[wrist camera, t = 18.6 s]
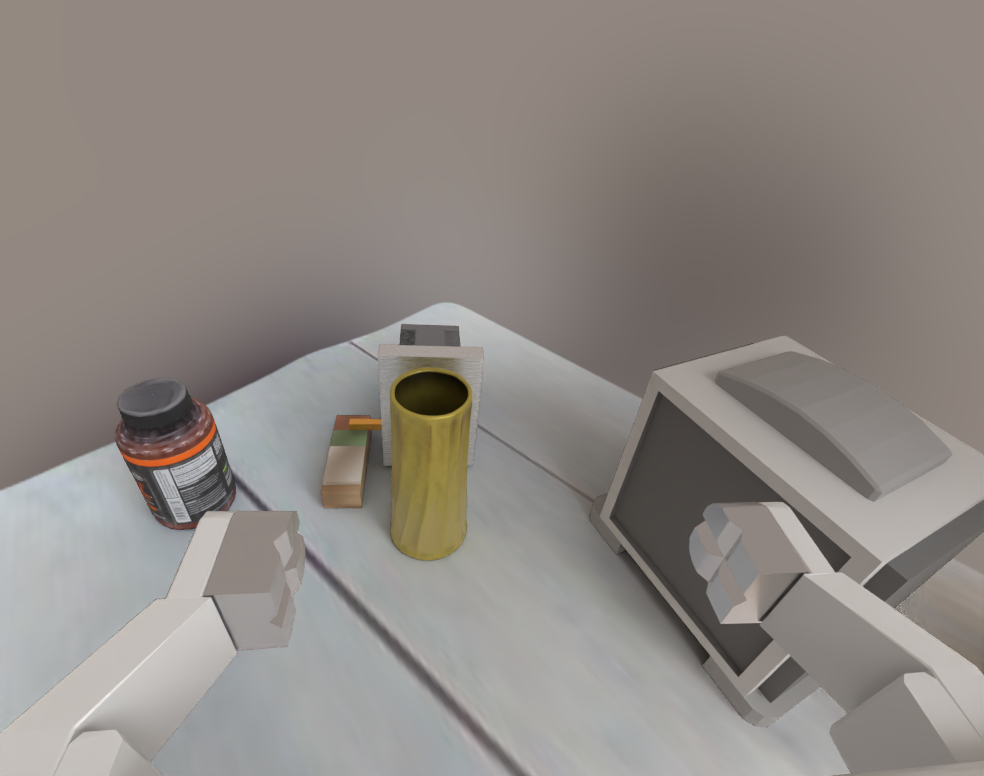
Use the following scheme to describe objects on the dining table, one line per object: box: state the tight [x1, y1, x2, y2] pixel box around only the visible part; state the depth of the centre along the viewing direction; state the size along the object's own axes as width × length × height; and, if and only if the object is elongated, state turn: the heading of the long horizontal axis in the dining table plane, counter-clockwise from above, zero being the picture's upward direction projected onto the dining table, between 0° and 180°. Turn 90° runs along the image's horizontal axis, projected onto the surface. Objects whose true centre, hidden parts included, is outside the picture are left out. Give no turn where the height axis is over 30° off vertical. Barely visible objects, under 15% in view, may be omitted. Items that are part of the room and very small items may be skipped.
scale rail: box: [321, 415, 372, 508], centre depth 44 cm, size 3×9×2 cm, turn 6°
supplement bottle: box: [115, 378, 236, 530], centre depth 37 cm, size 6×6×11 cm
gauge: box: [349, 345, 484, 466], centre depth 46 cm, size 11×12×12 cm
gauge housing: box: [400, 324, 460, 347], centre depth 51 cm, size 6×10×6 cm, turn 6°
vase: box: [390, 367, 473, 560], centre depth 36 cm, size 6×6×14 cm
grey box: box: [590, 336, 984, 727], centre depth 34 cm, size 18×13×18 cm
